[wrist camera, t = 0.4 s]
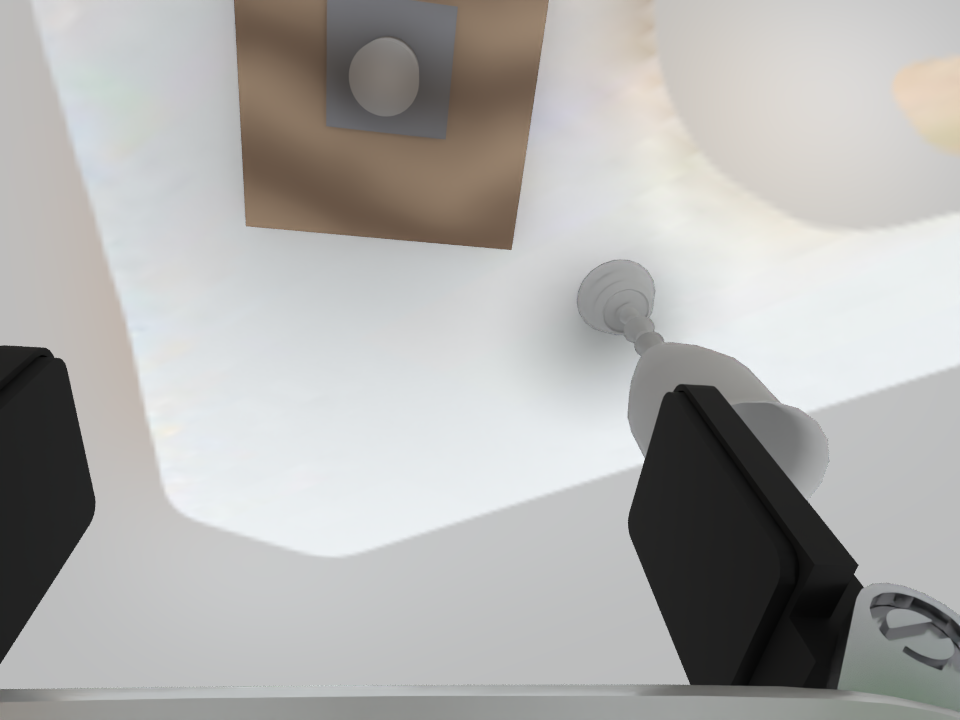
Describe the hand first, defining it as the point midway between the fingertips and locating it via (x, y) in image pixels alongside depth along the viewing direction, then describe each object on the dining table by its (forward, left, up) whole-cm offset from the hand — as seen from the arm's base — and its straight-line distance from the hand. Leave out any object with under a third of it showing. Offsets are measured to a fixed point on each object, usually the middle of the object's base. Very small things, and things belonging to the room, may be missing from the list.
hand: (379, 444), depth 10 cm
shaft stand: (-4, -1, -29) cm, 29 cm away
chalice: (+8, +14, -29) cm, 33 cm away
